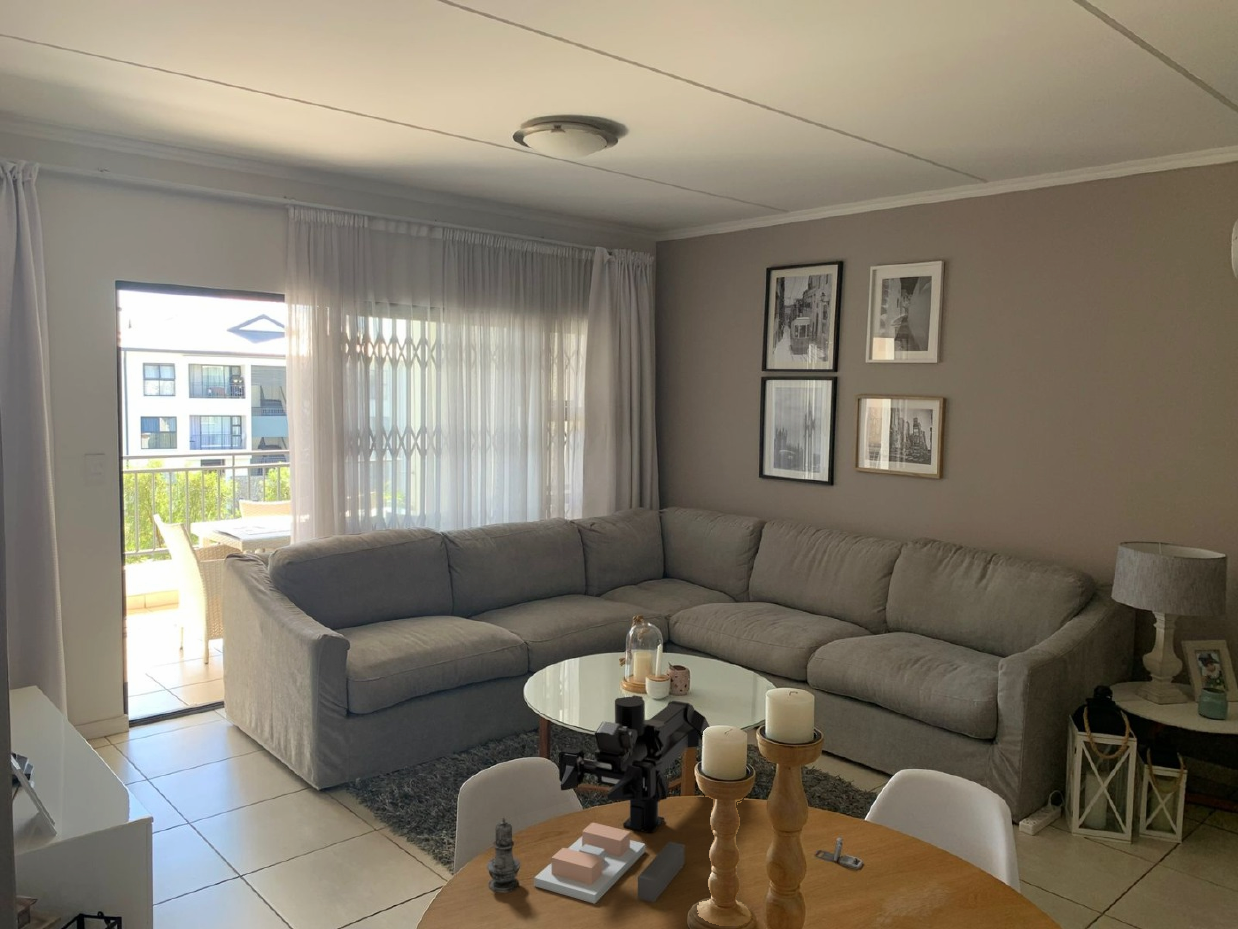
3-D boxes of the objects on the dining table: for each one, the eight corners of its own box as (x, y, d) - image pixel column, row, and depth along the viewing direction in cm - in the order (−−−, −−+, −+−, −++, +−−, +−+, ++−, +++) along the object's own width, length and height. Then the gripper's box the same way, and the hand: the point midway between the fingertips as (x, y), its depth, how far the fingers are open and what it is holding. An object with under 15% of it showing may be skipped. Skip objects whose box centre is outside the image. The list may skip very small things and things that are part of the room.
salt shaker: (514, 895, 156) (514, 827, 155) (482, 891, 157) (481, 824, 156) (525, 877, 162) (525, 812, 161) (493, 874, 163) (493, 809, 162)
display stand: (589, 837, 177) (589, 814, 176) (645, 851, 171) (645, 828, 171) (534, 886, 159) (534, 861, 158) (594, 903, 153) (594, 878, 153)
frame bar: (669, 862, 168) (669, 841, 168) (684, 866, 167) (684, 845, 166) (637, 899, 155) (637, 877, 155) (653, 904, 154) (654, 881, 154)
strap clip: (863, 864, 168) (864, 842, 168) (858, 871, 165) (859, 849, 165) (819, 852, 172) (819, 830, 172) (813, 858, 170) (814, 836, 170)
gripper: (579, 709, 176) (537, 739, 162) (668, 724, 167) (632, 756, 154) (580, 765, 177) (538, 799, 163) (669, 782, 169) (633, 819, 155)
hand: (584, 792), depth 158 cm, fingers open, 9 cm apart
